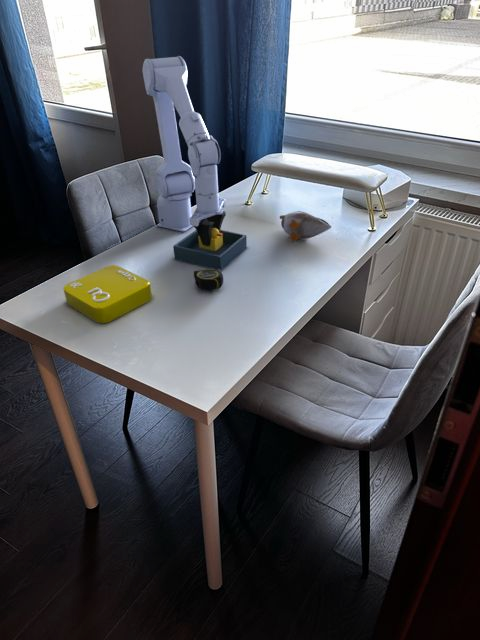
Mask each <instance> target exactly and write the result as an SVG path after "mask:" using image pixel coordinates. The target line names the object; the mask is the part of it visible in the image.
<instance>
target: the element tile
mask: <svg viewBox="0 0 480 640" xmlns="http://www.w3.org/2000/svg"><path fill="white" fill-rule="evenodd" d="M62 290H63V293H64V297H65V300H66V303H67V305H68V306H70V307H71V308H73V309H75V310H76V311H78V312H80V313H81V314H82V315H84V316H86V317H88V318H89V319H90V320H92V321H94V322H95V323H98V324H108V323H110V322H113V321H114V320H116V319H118V318H120V317H122V316H124V315H127V314H128V313H130V312H131V311H134V310H135V309H137V308H140V307H141V306H143V305H145V304H147V303H148V302H150V301H151V300H152V298H153V294H152V288H151V283H150V281H149V280H148V279H145V278H144V277H141V276H140V275H138V274H136V273H133V272H131V271H129V270H127V269H125V268H124V267H121V266H119V265H116V264H110V265H108V266H105V267H103V268H100V269H98V270H96V271H93V272H91V273H89V274H87V275H85V276H83V277H79V278H78V279H76V280H74V281H71V282H69V283H67V284H65V285H64V286H63V288H62Z"/></svg>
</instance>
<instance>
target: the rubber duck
mask: <svg viewBox="0 0 480 640" xmlns="http://www.w3.org/2000/svg"><path fill="white" fill-rule="evenodd" d="M222 235H223V233H219V231H218V229H216V228H212V230H211V243H210V246H206V245H202V242H201V239H200V236H199V247H200V248H204V249H208V250H212V251H216V250H218V249H219V248H220V247H221V246H223V238H222Z"/></svg>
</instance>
